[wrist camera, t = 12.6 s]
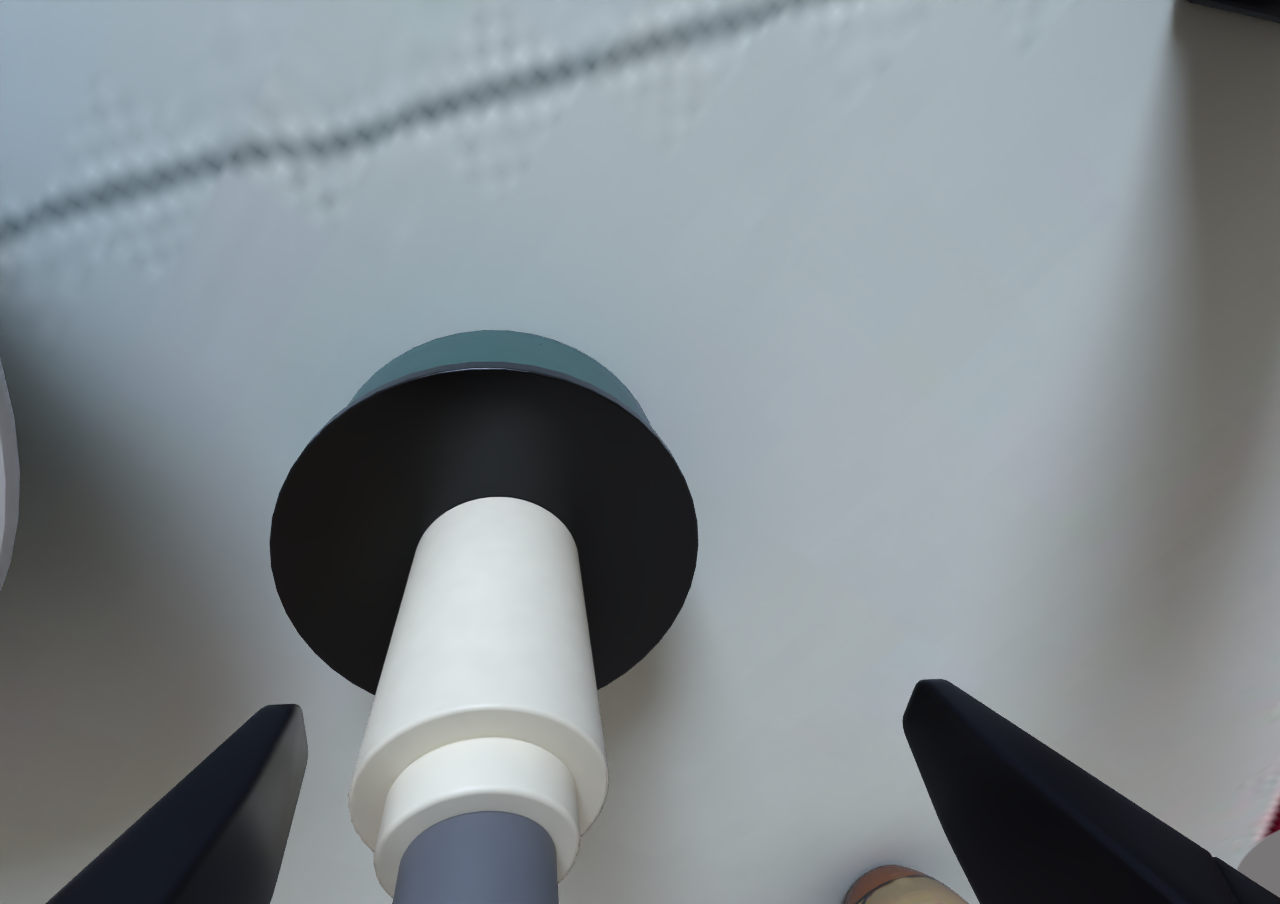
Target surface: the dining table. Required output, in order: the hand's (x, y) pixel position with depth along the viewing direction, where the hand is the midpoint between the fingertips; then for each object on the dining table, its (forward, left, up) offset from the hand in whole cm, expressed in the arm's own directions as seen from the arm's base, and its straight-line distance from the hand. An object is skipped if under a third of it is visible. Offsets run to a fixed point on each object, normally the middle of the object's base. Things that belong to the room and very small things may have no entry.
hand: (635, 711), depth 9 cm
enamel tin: (+2, +3, -13) cm, 13 cm away
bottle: (+2, +3, -8) cm, 9 cm away
